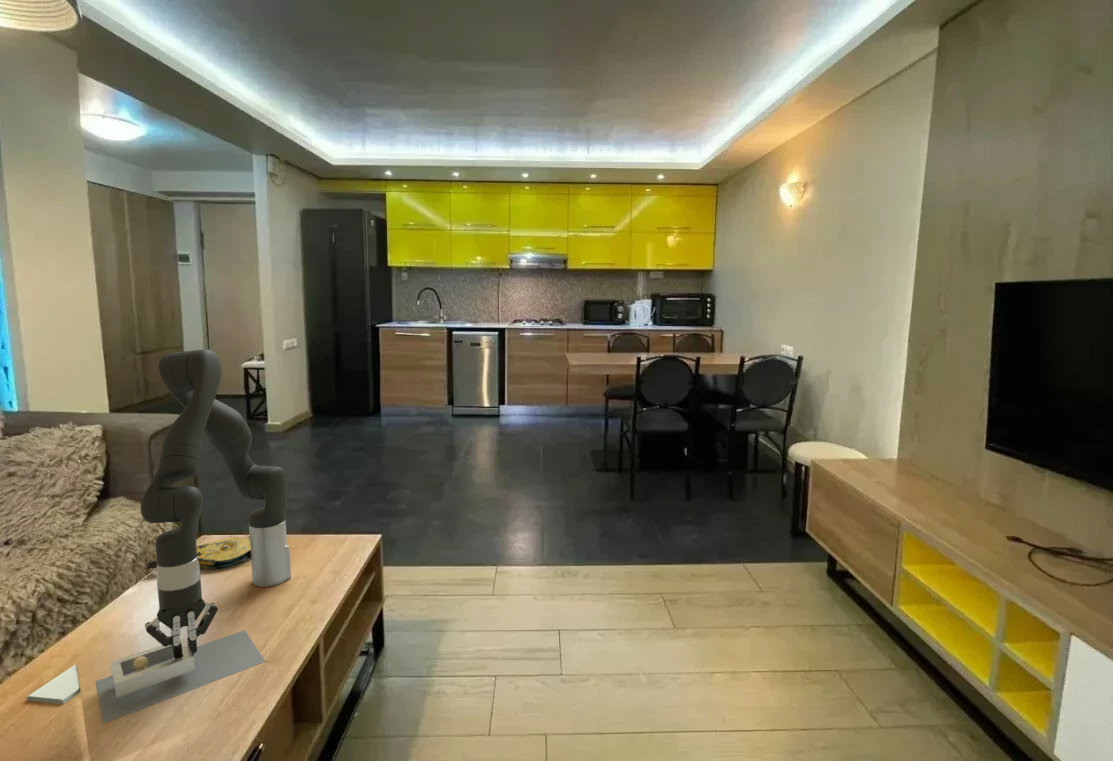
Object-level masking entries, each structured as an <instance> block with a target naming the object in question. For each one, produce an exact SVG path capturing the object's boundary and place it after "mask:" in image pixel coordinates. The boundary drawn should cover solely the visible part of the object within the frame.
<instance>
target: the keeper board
mask: <svg viewBox="0 0 1113 761" xmlns="http://www.w3.org/2000/svg"><path fill="white" fill-rule="evenodd" d="M174 659H175V658H173V659H170V660H167V661H164V662H161V663H158V664H155V665H152V666H150V667H147V668H146V665H147V664H148V659H147V658H146V657H143V656H142V657H138V658H137V659H136V660H135V661H134V663H133V666H134V668H135V669H136V671H135V672H132V673H129V674H126V675H123V676H124V677H125V676H128V675H131V674H134V673H137V672H140V671H142V670H145V669H148V668H151V667H154V666H157V665H160V664H163V663H166V662H169V661H171V660H174ZM265 662H266V660H265V659H264V657H263V656H262V654H261V652H260V651H259V649H258V648H257V646H256V644H255V643H254V641H253V640H252V638H251V637H250V635H249V634H248V632H247V631H246V630H245V629H244V630H241V631H239V632H235V633H232V634H229V635H226V636H224V637H221V638H217V639H215V640H212V641H209V642H206V643H203V644H200V645H197V652H196V653H194V667H195V670H193V671H191V672H188V673H185V674H182V675H180V676H177V677H174V678H171V679H169V680H166V681H163V682H160V683H158V684H155V685H152V686H149V687H146V688H144V689H141V690H138V691H135V692H133V693H130V694H127V695H124V696H122V697H119V698H116V694H115V689H114V685H113V680H112V676H111V675H110V676H107V677H105V678H102V679H98V680H96V681H95V684H96V690H97V695H98V701H99V706H100V711H101V718H102V722H103V723H102V724H107V723H109V722H112V721H115V720H117V719H119V718H122V717H125V716H128V715H130V714H133V713H135V712H138V711H140V710H141V711H142V710H143V709H145V708H148V707H151V706H153V705H156V704H158V703H161V702H163V701H164V702H165V701H166V700H169V699H172V698H175V697H177V696H179V695H182V694H185V693H187V692H191V691H193V690H196V689H198V688H200V687H203V686H206V685H208V684H211V683H214V682H216V681H218V680H221V679H224V678H226V677H229V676H232V675H234V674H236V673H237V674H238V673H240V672H243V671H244V670H247V669H249V668H252V667H255V666H257V665H260V664H263V663H265Z"/></svg>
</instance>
